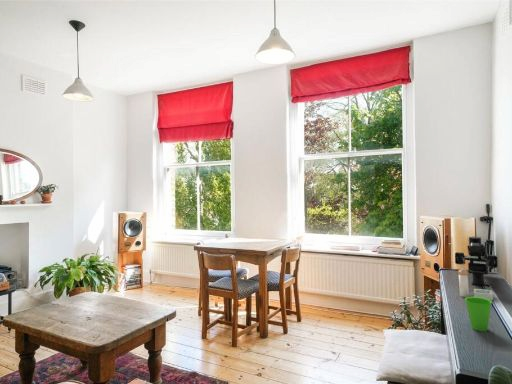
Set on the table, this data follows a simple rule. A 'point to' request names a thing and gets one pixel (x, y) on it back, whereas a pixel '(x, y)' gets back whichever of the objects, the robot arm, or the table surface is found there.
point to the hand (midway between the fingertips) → (475, 263)
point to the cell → (463, 283)
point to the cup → (479, 312)
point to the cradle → (483, 294)
